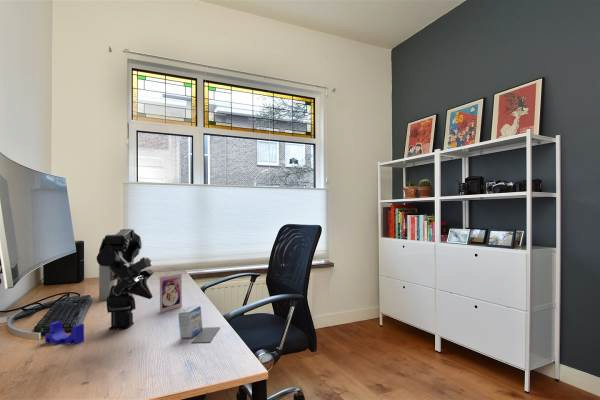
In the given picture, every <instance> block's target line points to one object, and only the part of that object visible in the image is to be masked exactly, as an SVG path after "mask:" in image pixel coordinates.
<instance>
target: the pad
mask: <svg viewBox="0 0 600 400" xmlns="http://www.w3.org/2000/svg"><path fill="white" fill-rule="evenodd" d="M220 329H221V327H220V326H217V327H216V326H213V327H211V326H210V327H203V329H202V330H201V331H200V332H199V333H197V334H196V335H195V338H194V339H193V340H192V341H191V344H207V343H208V344H209V343H211V342H212V340H213V339H214V337H216V335H217V333H218V332H219V330H220Z"/></svg>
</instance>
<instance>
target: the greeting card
mask: <svg viewBox="0 0 600 400" xmlns="http://www.w3.org/2000/svg"><path fill="white" fill-rule="evenodd" d="M182 278H183V277H182V273H177V274H171V275H169V272H168V273H166V274H164V275H162V276H161V277H159V313H163V312H167V311H170V310H173V309H177V308H181V307H183V304H182V303H183V300H182V299H183V295H182V293H183V292H182V290H183V289H182V285H183V284H182Z"/></svg>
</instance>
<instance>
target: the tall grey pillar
mask: <svg viewBox="0 0 600 400" xmlns="http://www.w3.org/2000/svg"><path fill="white" fill-rule="evenodd" d="M119 254H120V255H121V252H119ZM121 256H122V255H121ZM113 275H114V274H113V273H112V272H111V271H110V270H109V269H108V268H106V267H104V266H101V265H100V264H98V278H99V279H98V292H99V293H98V301H107V297H108V296H109V294H110V289H111V287H112V286H115V285H116V284H117V280H118V278H114V277H113Z"/></svg>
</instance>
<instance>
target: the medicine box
mask: <svg viewBox="0 0 600 400" xmlns="http://www.w3.org/2000/svg"><path fill="white" fill-rule="evenodd" d="M177 314H178V316H177V317H178V325H179V335H180V339H187V338H189V339H191V338H193V337H196V336H197V335H198V334H199V333H200V332H201V330H202V329H203V328H204V327H203V320H202V307H201V306H200V305H197V306H196V305H195V306H194V305H193V306H189V307H188V308H186V309H183V310H182V311H180V312H178V313H177Z"/></svg>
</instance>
